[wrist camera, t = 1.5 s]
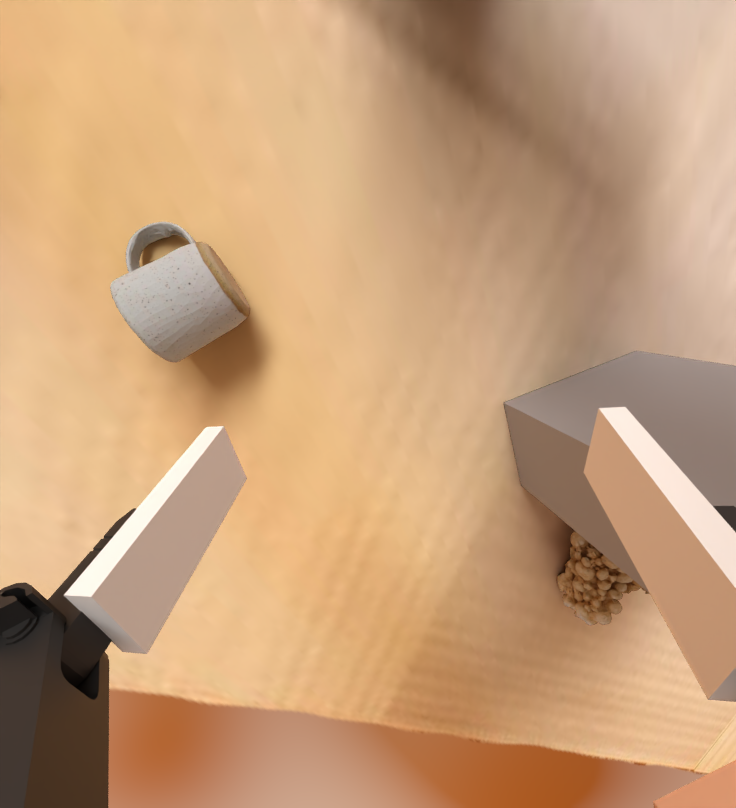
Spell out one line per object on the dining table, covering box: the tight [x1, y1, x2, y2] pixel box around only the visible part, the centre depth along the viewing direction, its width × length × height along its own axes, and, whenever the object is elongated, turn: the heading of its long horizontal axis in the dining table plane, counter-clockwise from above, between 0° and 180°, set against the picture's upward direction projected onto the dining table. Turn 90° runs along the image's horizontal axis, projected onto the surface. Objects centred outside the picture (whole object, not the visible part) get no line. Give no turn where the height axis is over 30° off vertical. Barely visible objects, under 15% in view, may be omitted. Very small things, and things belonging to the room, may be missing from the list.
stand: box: [504, 351, 736, 593], centre depth 31 cm, size 18×12×30 cm, turn 109°
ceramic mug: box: [110, 222, 250, 362], centre depth 29 cm, size 11×8×8 cm
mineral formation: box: [557, 531, 649, 625], centre depth 48 cm, size 8×13×15 cm
